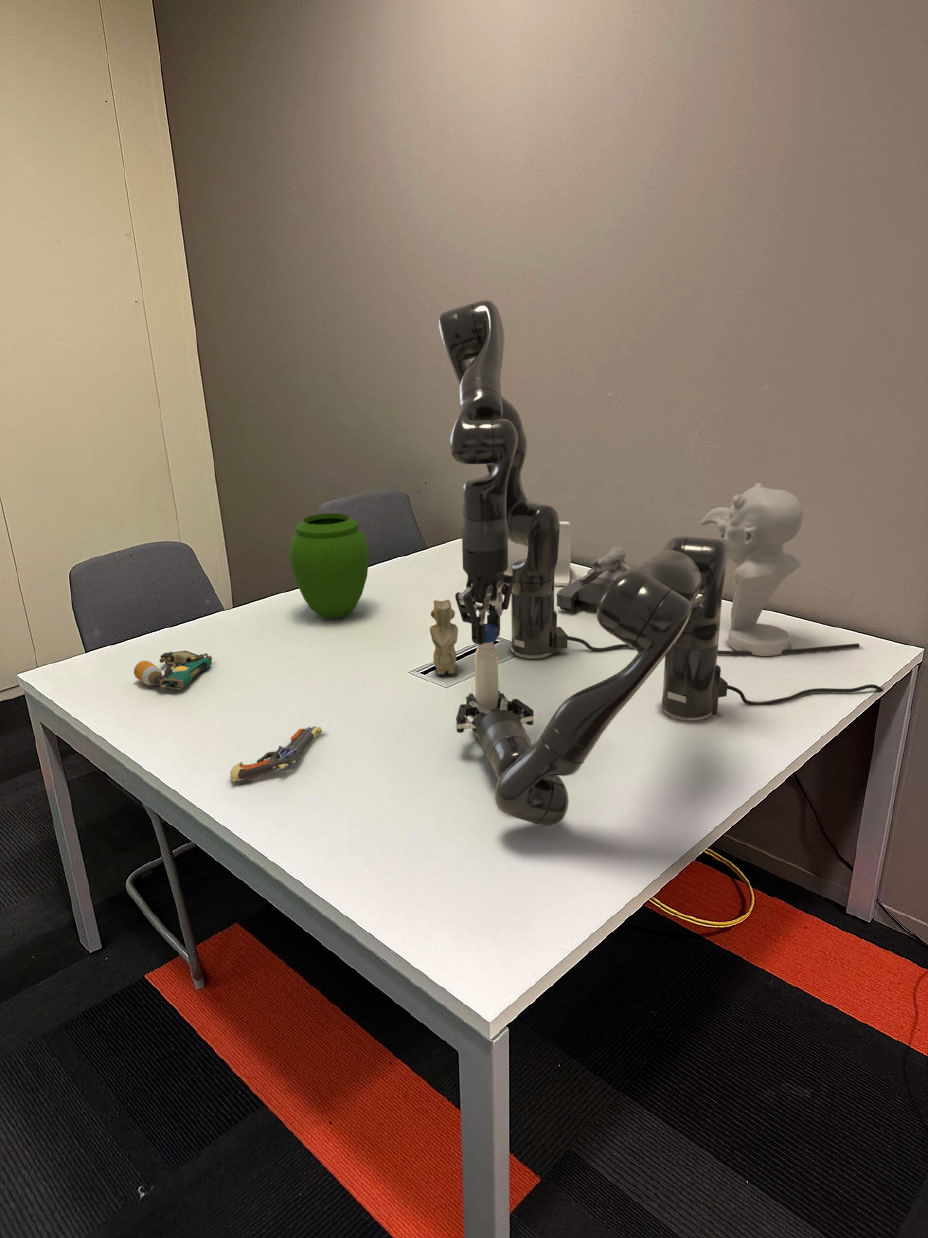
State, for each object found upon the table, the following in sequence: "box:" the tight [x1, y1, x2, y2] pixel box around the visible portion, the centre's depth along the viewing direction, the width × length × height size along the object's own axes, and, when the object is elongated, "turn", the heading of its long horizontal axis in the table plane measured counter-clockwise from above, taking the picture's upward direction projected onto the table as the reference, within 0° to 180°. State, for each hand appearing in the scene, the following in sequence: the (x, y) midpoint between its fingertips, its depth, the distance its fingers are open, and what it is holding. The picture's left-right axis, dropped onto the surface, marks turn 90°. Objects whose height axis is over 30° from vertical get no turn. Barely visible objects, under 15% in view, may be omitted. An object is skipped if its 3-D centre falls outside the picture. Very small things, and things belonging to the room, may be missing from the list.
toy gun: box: [229, 725, 323, 782], centre depth 147 cm, size 3×19×10 cm
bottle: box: [474, 641, 500, 738], centre depth 149 cm, size 4×4×20 cm
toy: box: [556, 546, 637, 613], centre depth 212 cm, size 25×20×15 cm
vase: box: [288, 512, 370, 620], centre depth 209 cm, size 20×20×24 cm
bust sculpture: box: [699, 482, 804, 657], centre depth 185 cm, size 16×24×35 cm
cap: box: [484, 622, 498, 643], centre depth 146 cm, size 4×4×2 cm
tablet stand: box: [504, 521, 572, 587], centre depth 236 cm, size 18×25×17 cm
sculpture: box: [429, 599, 459, 675], centre depth 177 cm, size 6×7×15 cm
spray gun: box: [133, 650, 213, 690], centre depth 180 cm, size 4×17×15 cm
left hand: (486, 639), depth 146 cm, fingers closed on cap, 3 cm apart
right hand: (483, 697), depth 153 cm, fingers closed on bottle, 4 cm apart
